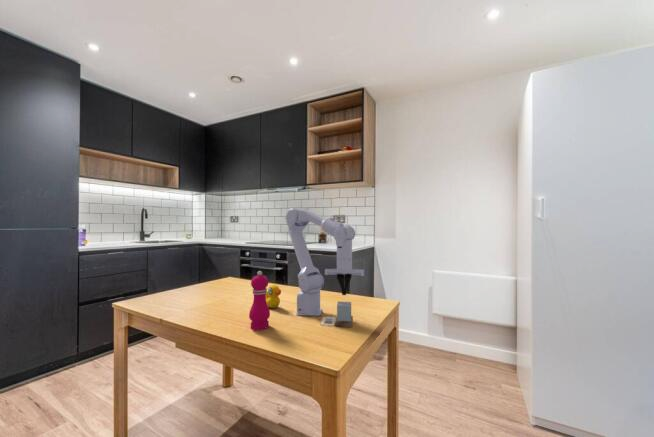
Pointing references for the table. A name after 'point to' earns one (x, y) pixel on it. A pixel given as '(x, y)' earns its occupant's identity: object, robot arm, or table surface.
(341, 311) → the gray brick
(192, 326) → the table surface
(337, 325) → the base brick
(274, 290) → the duckling
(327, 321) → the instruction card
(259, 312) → the pepper mill
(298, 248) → the robot arm
